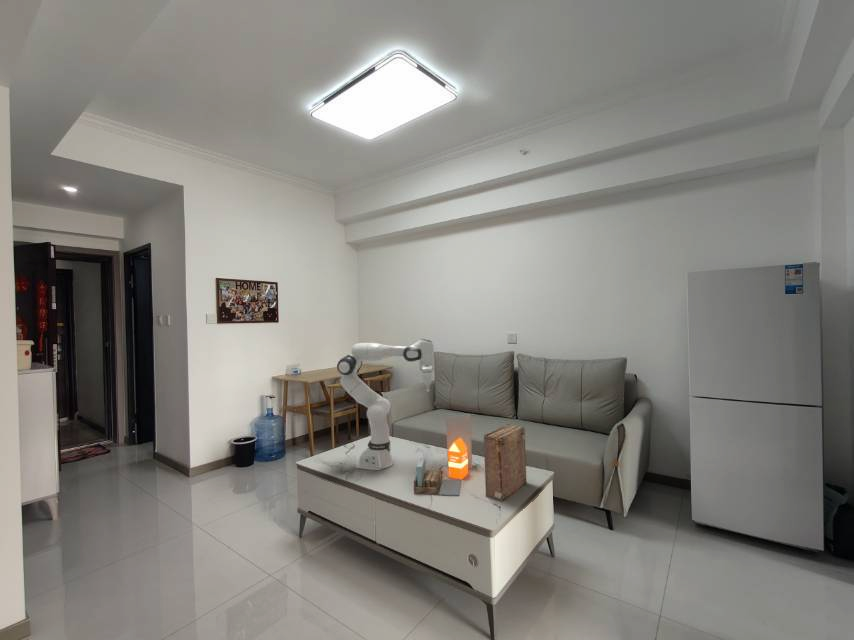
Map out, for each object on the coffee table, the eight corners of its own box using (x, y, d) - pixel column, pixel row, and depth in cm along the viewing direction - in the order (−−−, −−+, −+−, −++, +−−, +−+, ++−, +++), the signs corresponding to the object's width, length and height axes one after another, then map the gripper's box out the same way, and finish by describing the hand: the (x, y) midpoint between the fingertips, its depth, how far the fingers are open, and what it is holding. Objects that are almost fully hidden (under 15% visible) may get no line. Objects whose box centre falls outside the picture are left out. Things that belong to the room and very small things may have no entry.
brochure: (472, 464, 233) (470, 414, 232) (472, 468, 227) (470, 416, 227) (448, 464, 234) (446, 414, 234) (447, 468, 229) (446, 416, 228)
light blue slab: (417, 492, 199) (416, 466, 199) (421, 482, 211) (420, 458, 211) (422, 492, 199) (421, 466, 198) (426, 482, 210) (425, 458, 210)
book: (510, 478, 211) (509, 423, 210) (526, 483, 205) (524, 426, 204) (485, 496, 192) (483, 435, 191) (502, 501, 186) (500, 438, 185)
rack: (413, 493, 197) (413, 481, 197) (419, 480, 213) (418, 469, 213) (437, 494, 195) (436, 482, 195) (440, 480, 211) (440, 469, 211)
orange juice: (468, 473, 220) (467, 438, 219) (461, 479, 212) (460, 442, 212) (455, 471, 224) (454, 436, 223) (448, 477, 216) (447, 441, 216)
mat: (438, 495, 194) (438, 494, 194) (442, 480, 212) (442, 479, 212) (458, 496, 193) (458, 494, 193) (461, 480, 211) (461, 479, 211)
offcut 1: (426, 491, 199) (426, 480, 199) (429, 483, 209) (428, 472, 209) (430, 491, 199) (429, 480, 199) (433, 483, 209) (432, 472, 209)
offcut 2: (431, 491, 199) (430, 480, 199) (433, 483, 208) (433, 473, 208) (434, 491, 199) (434, 480, 199) (437, 483, 208) (436, 473, 208)
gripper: (421, 364, 241) (422, 387, 241) (421, 369, 221) (422, 393, 221) (432, 364, 241) (432, 386, 242) (432, 368, 221) (433, 393, 221)
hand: (427, 390), depth 231 cm, fingers open, 8 cm apart
